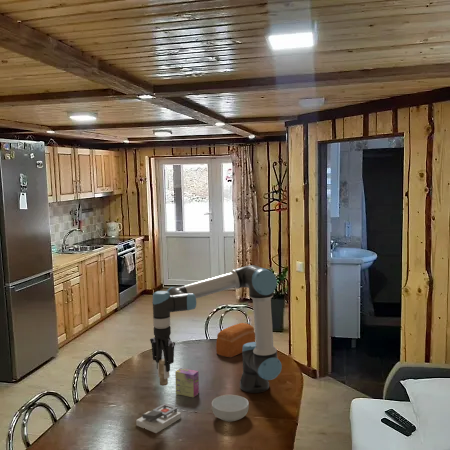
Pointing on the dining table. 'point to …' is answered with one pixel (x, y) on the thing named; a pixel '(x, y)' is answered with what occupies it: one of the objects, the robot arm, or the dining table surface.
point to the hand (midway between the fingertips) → (163, 377)
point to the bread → (234, 339)
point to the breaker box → (160, 419)
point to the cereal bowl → (230, 407)
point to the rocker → (152, 415)
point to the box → (187, 382)
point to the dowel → (162, 373)
